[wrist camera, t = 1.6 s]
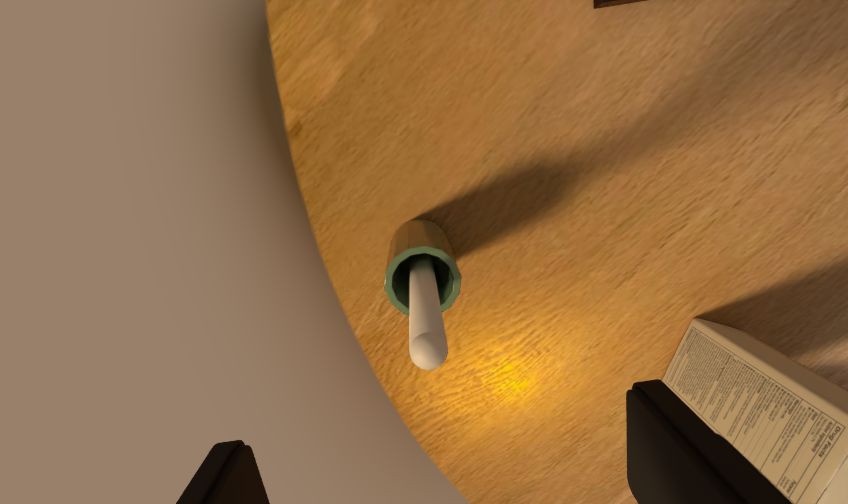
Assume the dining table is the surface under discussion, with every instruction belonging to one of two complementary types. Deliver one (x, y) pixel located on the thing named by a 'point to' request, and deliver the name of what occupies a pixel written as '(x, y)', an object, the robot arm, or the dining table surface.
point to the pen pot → (420, 240)
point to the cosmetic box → (766, 410)
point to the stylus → (425, 315)
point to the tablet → (612, 2)
